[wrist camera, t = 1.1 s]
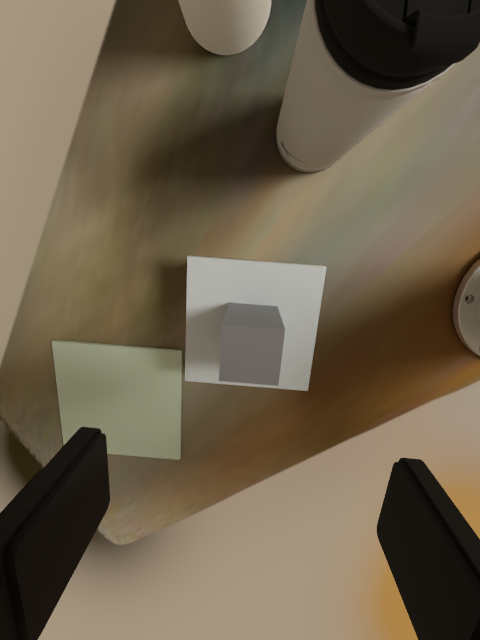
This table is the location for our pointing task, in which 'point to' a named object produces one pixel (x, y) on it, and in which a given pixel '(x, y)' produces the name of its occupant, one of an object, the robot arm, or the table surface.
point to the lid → (251, 321)
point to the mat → (121, 396)
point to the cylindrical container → (225, 23)
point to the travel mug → (365, 69)
